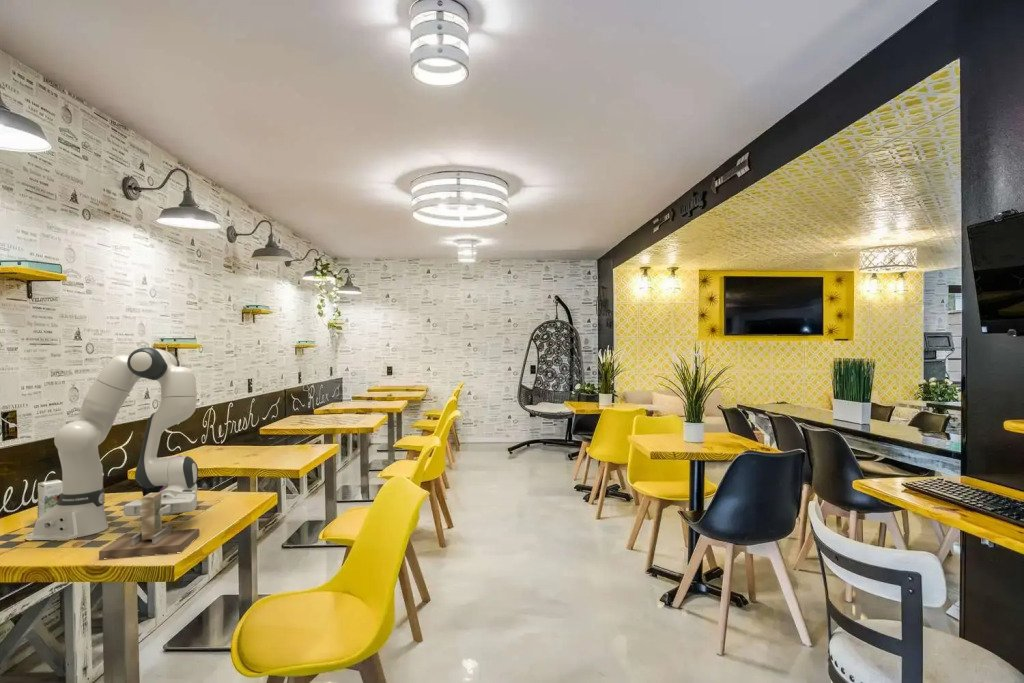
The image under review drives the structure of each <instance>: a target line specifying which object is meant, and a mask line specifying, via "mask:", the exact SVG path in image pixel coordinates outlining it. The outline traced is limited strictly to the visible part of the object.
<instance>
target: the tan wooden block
mask: <svg viewBox="0 0 1024 683" xmlns="http://www.w3.org/2000/svg"><path fill="white" fill-rule="evenodd" d="M141 499H142V516H141V531H142V540H144V539H152V537H153V536H154V535H155V534H157V533H158V532H159V531H161V530H162V529H163V527H162V526H163V525H162V524H163V523H162V515H156V513H157V512H156V510H157V509H158V508H161V492H157V493H149V494H147V495H146V496H144V497H143V496H142V497H141Z"/></svg>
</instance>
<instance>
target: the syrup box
mask: <svg viewBox="0 0 1024 683" xmlns="http://www.w3.org/2000/svg"><path fill="white" fill-rule="evenodd" d="M61 493H63V483H62V480H60V479H53V480H52V479H51V480H47V481H41V482H40V481H39V482H38V483H37V519H38V518H39V517H40V516H42V515H43V514H44V513H46V512H47V511H48V510H50V509H51V508H52V507H54V506H55V505H57V504H56V503H57V500H55V501H54V499H55V498H54V497H56V496H57V495H59V494H61Z"/></svg>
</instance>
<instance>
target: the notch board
mask: <svg viewBox="0 0 1024 683" xmlns="http://www.w3.org/2000/svg"><path fill="white" fill-rule="evenodd" d="M199 537H200V528H199V527H198V528H188V529H186V528H185V529H175V530H173V524H168V525H166V526H164V527H163V528H162V530H161V531H159V532H158V533H157V534H155V535H154V536H153V537H152V539H144V540H142V530H141V531H139V532H133V533H132V532H131V533H125V534H123V535H121V536H120V537H119V538H117V539H115V540H114V541H112V542H111V543H110V544H108V545H106V546H105V547H103V548H102V549H100V550H98V560H99V559H101V560H105V559H104V558H113V559H119V558H118V557H126V558H133V557H132V556H138V557H143V556H142V555H150V556H156V555H155V554H163V555H169V554H168V553H175V554H178V553H177V552H181V551H182V550H183V549H184V548H185V547H186V548H187V547H188V546H189V544H190V543H191V542H192V541H193V540H194V539H195V540H197V539H198V538H199ZM195 540H194V541H195ZM194 541H193V542H194ZM193 542H192V543H193ZM192 543H191V544H192ZM191 544H190V545H191ZM186 548H185V549H186ZM185 549H184V550H185ZM184 550H183V551H184ZM183 551H182V552H183ZM182 552H181V553H182Z"/></svg>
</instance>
